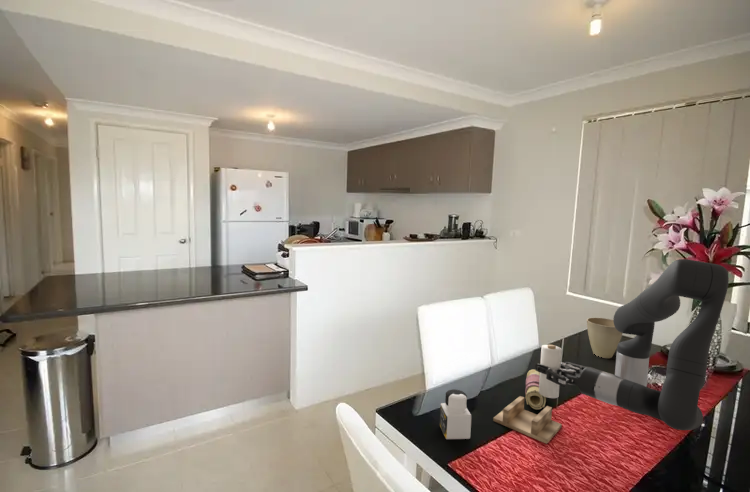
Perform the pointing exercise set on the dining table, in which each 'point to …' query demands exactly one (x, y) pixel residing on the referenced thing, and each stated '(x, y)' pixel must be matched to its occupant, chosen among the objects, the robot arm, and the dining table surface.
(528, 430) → the stand
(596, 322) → the plant pot
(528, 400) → the scroll
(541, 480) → the dining table surface
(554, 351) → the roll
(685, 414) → the robot arm
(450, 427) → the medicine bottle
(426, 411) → the dining table surface
